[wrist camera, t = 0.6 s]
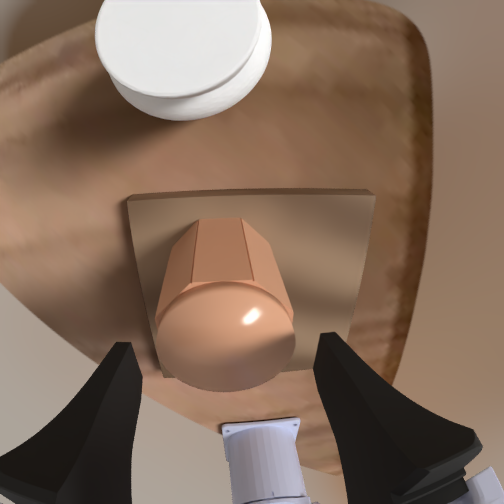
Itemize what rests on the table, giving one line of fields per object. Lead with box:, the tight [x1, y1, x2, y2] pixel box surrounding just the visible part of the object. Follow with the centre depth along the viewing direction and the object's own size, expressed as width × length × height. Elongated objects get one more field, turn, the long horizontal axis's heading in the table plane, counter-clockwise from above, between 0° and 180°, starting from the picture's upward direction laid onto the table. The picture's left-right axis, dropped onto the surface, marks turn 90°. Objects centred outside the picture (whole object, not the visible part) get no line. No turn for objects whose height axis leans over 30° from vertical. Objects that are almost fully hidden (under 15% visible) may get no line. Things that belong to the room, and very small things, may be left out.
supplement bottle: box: [95, 0, 272, 121], centre depth 10 cm, size 5×5×10 cm
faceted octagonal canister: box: [155, 218, 296, 392], centre depth 15 cm, size 6×6×7 cm
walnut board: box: [127, 188, 376, 378], centre depth 20 cm, size 14×14×1 cm
